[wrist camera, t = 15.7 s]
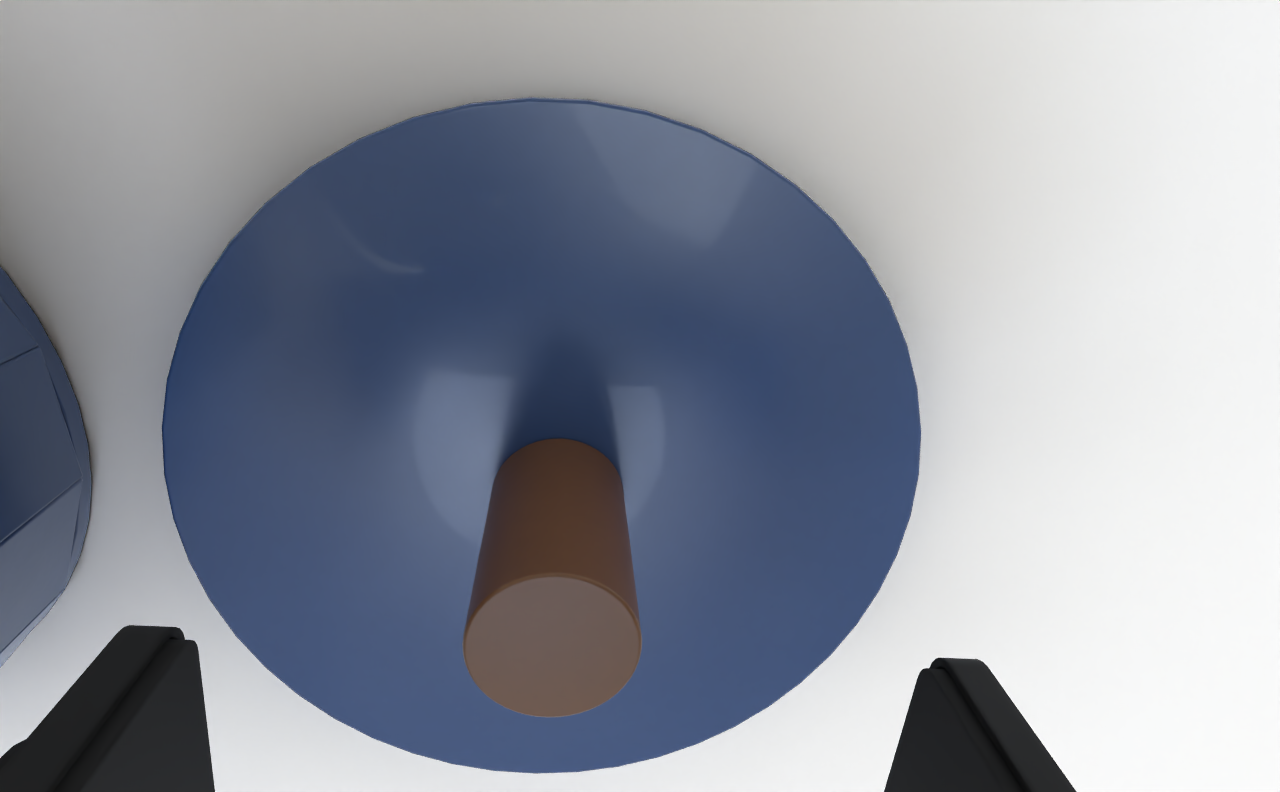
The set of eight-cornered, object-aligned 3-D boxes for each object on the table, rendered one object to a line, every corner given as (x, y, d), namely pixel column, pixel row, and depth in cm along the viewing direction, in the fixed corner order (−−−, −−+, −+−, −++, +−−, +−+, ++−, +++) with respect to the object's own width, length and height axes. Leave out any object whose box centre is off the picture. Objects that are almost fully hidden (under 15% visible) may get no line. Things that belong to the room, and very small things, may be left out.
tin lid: (21, 305, 14) (-298, 435, 9) (760, -53, 13) (888, -144, 8) (425, 813, 20) (373, 1077, 15) (972, 594, 19) (1129, 795, 13)
